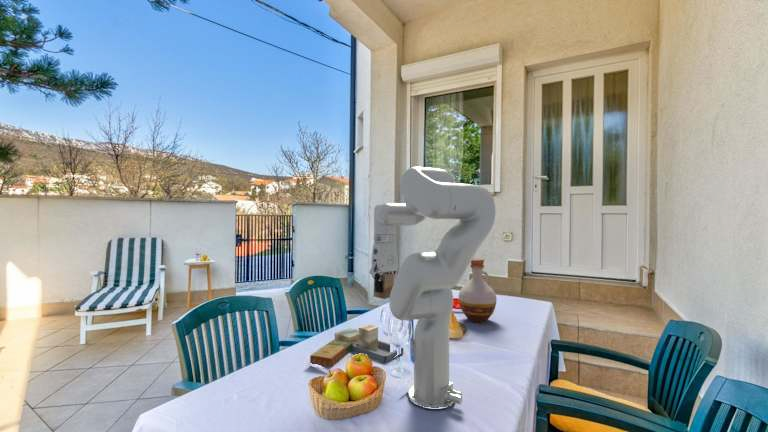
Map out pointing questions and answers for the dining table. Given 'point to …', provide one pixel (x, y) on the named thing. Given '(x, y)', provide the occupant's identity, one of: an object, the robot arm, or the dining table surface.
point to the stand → (348, 335)
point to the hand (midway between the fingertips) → (384, 290)
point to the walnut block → (385, 286)
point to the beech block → (368, 337)
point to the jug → (477, 295)
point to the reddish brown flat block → (331, 353)
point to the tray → (377, 351)
